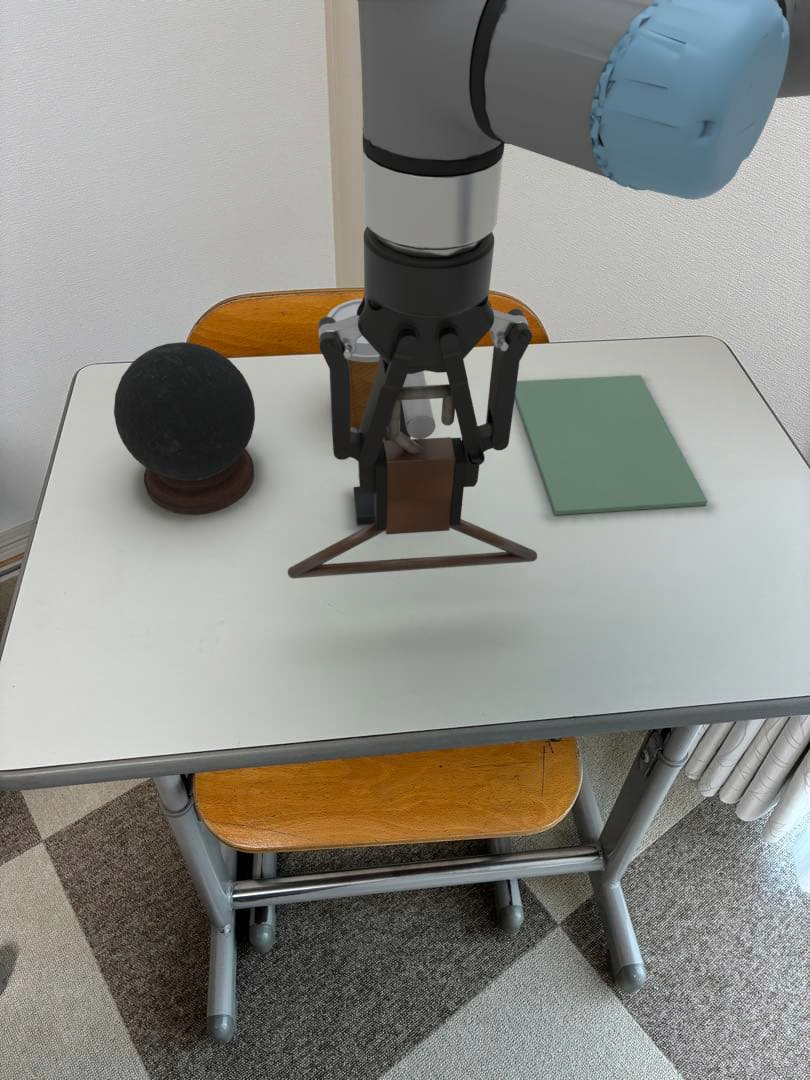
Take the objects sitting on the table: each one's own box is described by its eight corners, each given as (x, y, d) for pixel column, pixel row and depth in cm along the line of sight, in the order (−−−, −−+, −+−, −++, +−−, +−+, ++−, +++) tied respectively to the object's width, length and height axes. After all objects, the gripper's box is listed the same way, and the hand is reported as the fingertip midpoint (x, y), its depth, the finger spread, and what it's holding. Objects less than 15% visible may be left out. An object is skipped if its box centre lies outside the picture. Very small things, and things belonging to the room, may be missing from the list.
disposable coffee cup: (375, 378, 96) (375, 287, 87) (427, 417, 91) (432, 324, 82) (310, 408, 92) (303, 315, 83) (361, 450, 87) (358, 357, 78)
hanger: (533, 548, 69) (570, 369, 55) (539, 569, 67) (579, 389, 53) (287, 565, 67) (264, 383, 53) (288, 587, 65) (263, 405, 52)
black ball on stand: (131, 448, 86) (94, 326, 75) (252, 427, 89) (234, 307, 78) (140, 533, 78) (101, 409, 67) (274, 507, 80) (257, 384, 70)
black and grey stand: (430, 490, 83) (443, 285, 66) (455, 617, 71) (479, 411, 54) (353, 494, 82) (347, 289, 65) (367, 624, 71) (363, 417, 54)
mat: (510, 385, 96) (511, 381, 95) (639, 379, 97) (640, 374, 97) (554, 515, 81) (555, 511, 80) (706, 505, 82) (707, 501, 82)
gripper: (567, 193, 49) (519, 476, 66) (269, 201, 47) (299, 489, 64) (602, 253, 44) (540, 542, 61) (268, 264, 42) (301, 559, 59)
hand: (416, 514), depth 62 cm, fingers closed on hanger, 5 cm apart
